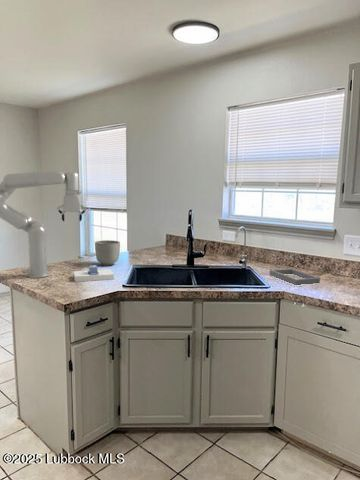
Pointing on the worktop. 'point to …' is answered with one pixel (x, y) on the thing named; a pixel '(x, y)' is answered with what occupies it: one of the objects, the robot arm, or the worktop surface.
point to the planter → (107, 252)
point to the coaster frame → (308, 278)
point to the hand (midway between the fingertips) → (71, 221)
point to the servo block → (93, 270)
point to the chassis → (86, 277)
